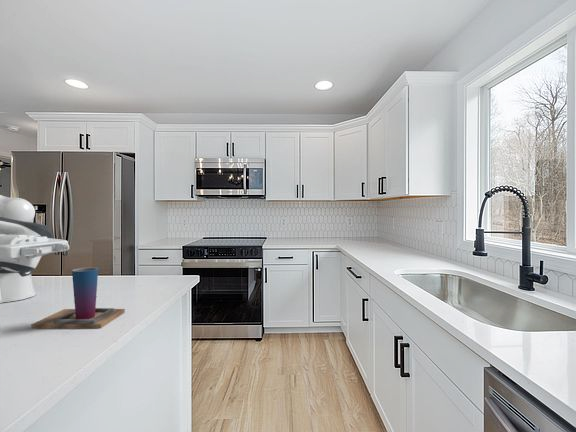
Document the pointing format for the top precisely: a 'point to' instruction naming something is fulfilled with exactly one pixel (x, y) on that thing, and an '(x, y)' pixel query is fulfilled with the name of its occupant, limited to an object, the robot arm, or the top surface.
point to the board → (68, 319)
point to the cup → (85, 291)
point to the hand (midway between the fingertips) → (54, 249)
